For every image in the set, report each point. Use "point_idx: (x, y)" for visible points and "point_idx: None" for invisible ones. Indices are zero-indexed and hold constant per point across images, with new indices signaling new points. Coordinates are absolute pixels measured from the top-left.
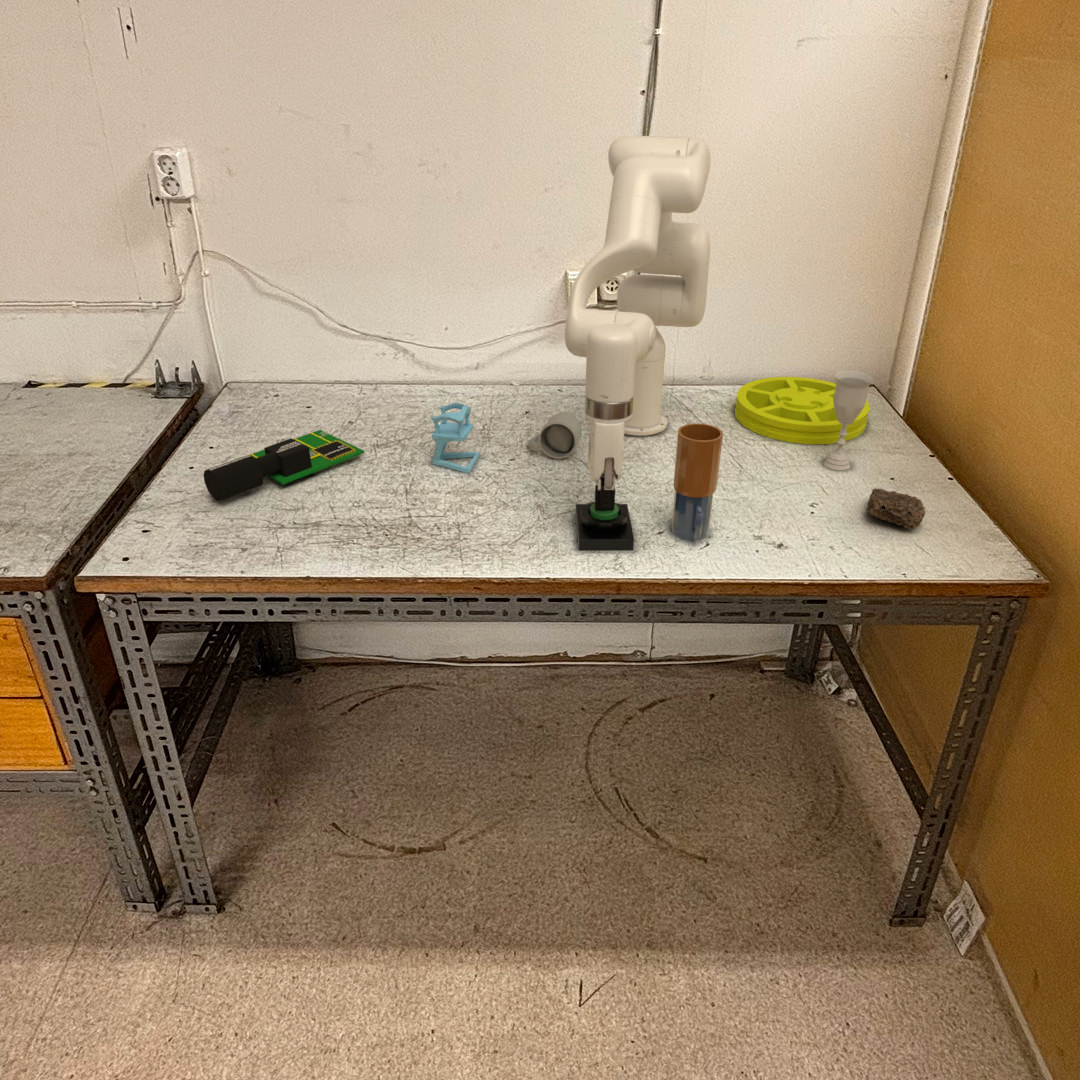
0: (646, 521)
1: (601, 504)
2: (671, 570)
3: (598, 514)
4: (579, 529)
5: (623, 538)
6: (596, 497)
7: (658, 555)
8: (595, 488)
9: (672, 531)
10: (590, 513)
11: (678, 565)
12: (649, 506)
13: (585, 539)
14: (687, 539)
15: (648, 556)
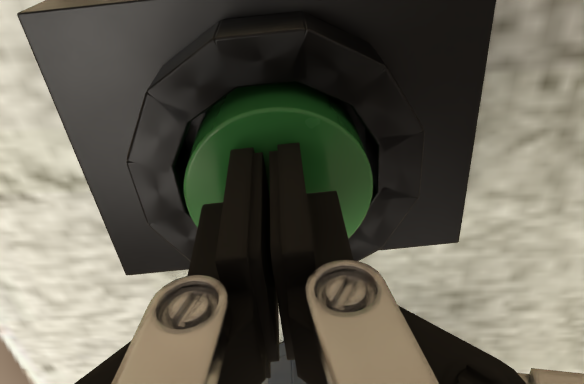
0: (380, 271)
1: (203, 218)
2: (50, 337)
3: (187, 164)
4: (147, 9)
5: (118, 239)
6: (225, 211)
7: (135, 306)
8: (280, 238)
9: None
10: (249, 98)
11: (90, 352)
12: (498, 278)
13: (35, 55)
14: None
15: (117, 281)
